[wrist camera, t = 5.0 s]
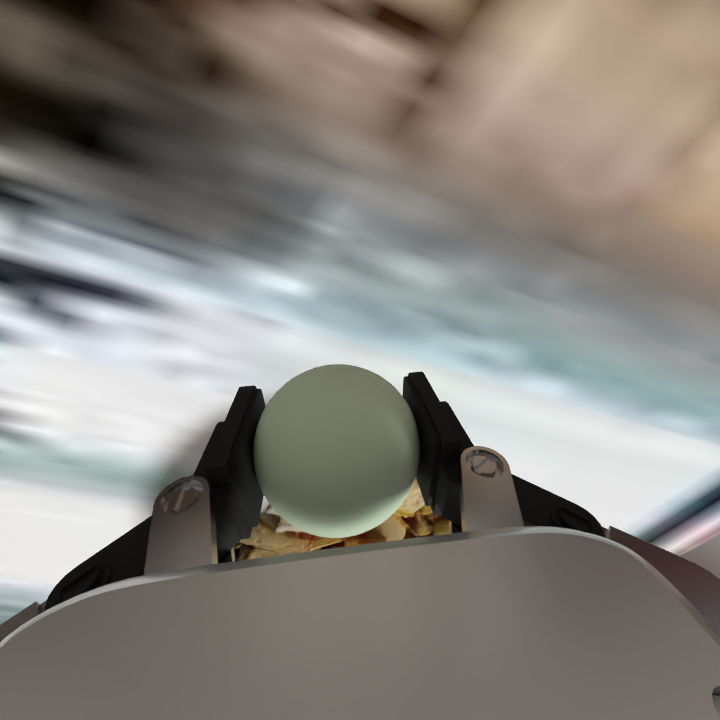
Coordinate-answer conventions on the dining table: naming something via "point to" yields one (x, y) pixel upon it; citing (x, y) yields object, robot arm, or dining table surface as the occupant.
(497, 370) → the dining table surface
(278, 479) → the sage ball
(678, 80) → the dining table surface
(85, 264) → the dining table surface
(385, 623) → the robot arm
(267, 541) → the bowl
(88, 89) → the dining table surface
